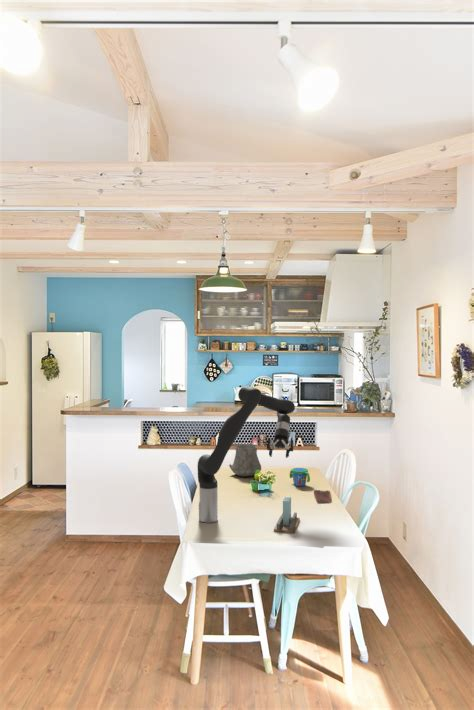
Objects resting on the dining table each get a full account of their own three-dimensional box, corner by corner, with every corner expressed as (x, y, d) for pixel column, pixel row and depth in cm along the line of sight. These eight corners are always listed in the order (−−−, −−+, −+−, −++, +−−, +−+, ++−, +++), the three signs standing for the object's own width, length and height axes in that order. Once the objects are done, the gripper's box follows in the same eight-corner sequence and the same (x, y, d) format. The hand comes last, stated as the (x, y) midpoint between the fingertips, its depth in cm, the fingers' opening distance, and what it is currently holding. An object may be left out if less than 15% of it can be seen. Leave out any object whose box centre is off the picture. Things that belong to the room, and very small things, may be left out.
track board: (273, 531, 260) (273, 523, 260) (280, 518, 280) (280, 511, 280) (294, 533, 258) (294, 525, 258) (299, 519, 277) (299, 512, 277)
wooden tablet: (333, 502, 305) (315, 499, 306) (332, 506, 305) (314, 503, 306) (330, 490, 331) (313, 487, 332) (329, 493, 331) (313, 491, 332)
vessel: (231, 470, 383) (231, 442, 383) (262, 471, 380) (262, 443, 380) (226, 478, 362) (226, 448, 361) (259, 479, 359) (259, 449, 358)
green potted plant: (254, 492, 329) (254, 473, 329) (248, 488, 337) (248, 470, 337) (271, 490, 333) (271, 471, 333) (265, 486, 342) (265, 468, 341)
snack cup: (285, 483, 348) (285, 468, 348) (297, 481, 354) (297, 466, 354) (301, 489, 335) (301, 473, 335) (314, 486, 341) (314, 470, 341)
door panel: (282, 525, 266) (282, 500, 266) (285, 520, 273) (285, 497, 272) (288, 525, 265) (288, 501, 265) (291, 521, 272) (291, 497, 272)
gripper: (268, 427, 297) (264, 451, 286) (294, 428, 294) (291, 453, 283) (270, 435, 302) (266, 459, 292) (295, 436, 299) (292, 461, 288)
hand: (278, 456), depth 287 cm, fingers open, 8 cm apart
